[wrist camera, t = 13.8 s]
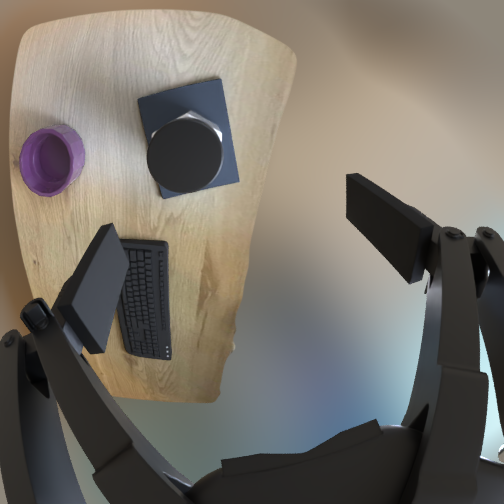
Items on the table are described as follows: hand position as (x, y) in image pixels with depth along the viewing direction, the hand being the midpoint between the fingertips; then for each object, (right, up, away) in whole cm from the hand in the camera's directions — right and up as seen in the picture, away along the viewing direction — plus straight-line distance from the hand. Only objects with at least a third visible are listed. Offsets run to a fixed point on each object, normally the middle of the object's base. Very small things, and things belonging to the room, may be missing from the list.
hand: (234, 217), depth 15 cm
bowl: (-29, +13, +20) cm, 37 cm away
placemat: (-8, +14, +23) cm, 28 cm away
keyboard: (-21, -12, +37) cm, 44 cm away
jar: (-8, +14, +23) cm, 28 cm away
